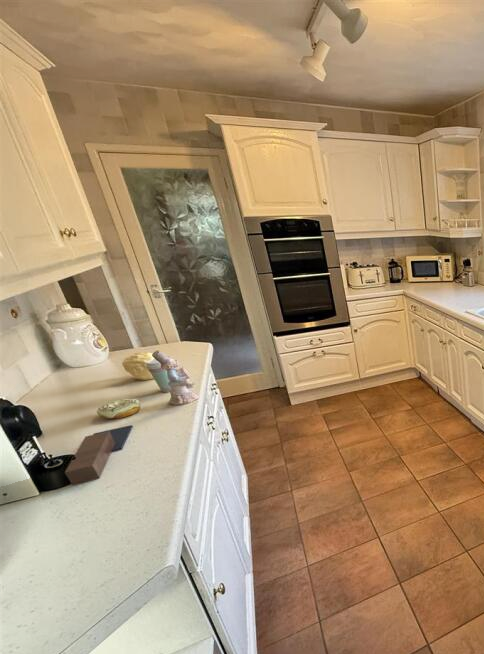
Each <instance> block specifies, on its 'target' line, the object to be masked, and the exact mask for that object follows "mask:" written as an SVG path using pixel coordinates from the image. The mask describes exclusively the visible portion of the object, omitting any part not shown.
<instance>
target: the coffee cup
mask: <svg viewBox="0 0 484 654" xmlns="http://www.w3.org/2000/svg"><path fill="white" fill-rule="evenodd" d="M173 360H175V359H174V358H173ZM146 368H147V369H149V371H150V373H151V374H152V376H153V379H154V381H155V383H156V384H157V387H158V388H159V389H160V391H161V392H162V393H170V390H172V388H171V387H170V386H169V385H168V382H169V379H168V376H167V370H164V369H162V368H161V363H159V362H158V361H157V360H156V359H151V360H149V361H147V362H146ZM176 370H178V368H176Z"/></svg>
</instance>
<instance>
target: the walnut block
mask: <svg viewBox="0 0 484 654" xmlns="http://www.w3.org/2000/svg"><path fill="white" fill-rule="evenodd" d="M102 432H103V431H102ZM93 434H94V433H93ZM93 434H89V435H86V436H84V438H83V439H82V441H81V443H80V445H79V446H78V449H77V450H76V452H75V453H74V455H73V457H74V456H75V457H76V459H75V460H72V459H71V461H70V463H69V464H68V466H67V467H66V469H65V471H64V474H65V476H66V477H67V479H68V481H69V482H70V484H71V485H72V486H75V485H79V484H83V483H86V482H91V481H95V480H98V479H101V476H102V474H103V471H104V469H105V467H106V465H107V463H108V460H109V458H110V456H111V453H112V452H111V451H112V449H113V447H114V445H115V441H114V439H113V437H112V435H111V434H110V432H109V431H108V432H103V433H99V434H94V435H93Z"/></svg>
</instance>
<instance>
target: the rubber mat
mask: <svg viewBox="0 0 484 654" xmlns="http://www.w3.org/2000/svg"><path fill="white" fill-rule="evenodd" d="M132 429H133V424H130V425H125V426H120V427H118V428H112V429H108V430H103V431H99V432H95V433H93V434H92V435H94V434H99V433H103V432H108V431H109V432H110V434H111V435H112V437H113V439H114V441H115V445H114V447H113V449H112V451H111V453H112V452H117V451H120V450H123V449H124V447H125V444H126V442H127V440H128V438H129V436H130V434H131V431H132Z"/></svg>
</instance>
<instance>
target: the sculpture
mask: <svg viewBox="0 0 484 654" xmlns="http://www.w3.org/2000/svg"><path fill="white" fill-rule="evenodd" d="M153 353H154V352H149V351H147V352H134V354H131V355H130V356H127V357H125V358H124V359H123V361H122V363H121V365H122V367H123V369H124V371H126V372H127V373H129V374H130V376H132V377H133V378H135V379H137V380H141V381H146V380H147V381H149V380H152V379H154V378H153V376H152V374H151V373H150V371H149V369H147V368H146V362H147V361H149V360H151V359H155V358H154V357H153V356H152V354H153Z"/></svg>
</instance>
